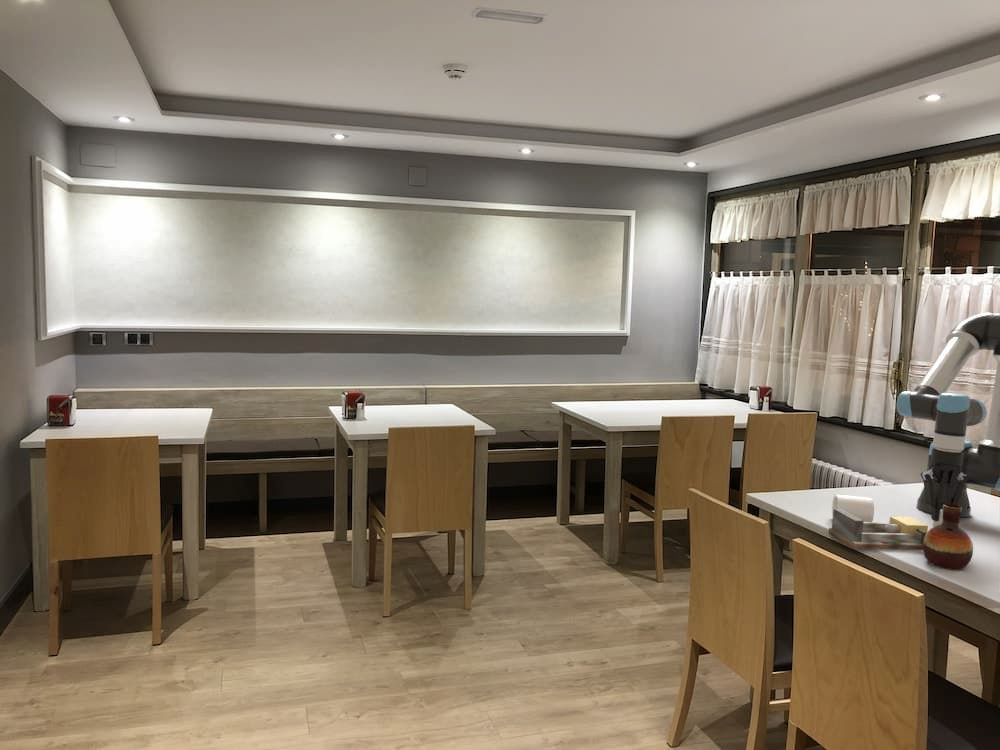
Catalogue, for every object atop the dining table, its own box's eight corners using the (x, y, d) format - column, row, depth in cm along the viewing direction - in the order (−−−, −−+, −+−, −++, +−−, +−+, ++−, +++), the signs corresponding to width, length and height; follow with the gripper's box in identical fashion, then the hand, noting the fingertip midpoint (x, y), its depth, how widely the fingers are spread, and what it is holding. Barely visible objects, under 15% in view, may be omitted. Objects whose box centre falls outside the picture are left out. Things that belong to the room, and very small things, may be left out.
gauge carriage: (908, 532, 220) (910, 517, 220) (934, 545, 209) (936, 529, 208) (878, 531, 219) (880, 516, 219) (902, 544, 208) (904, 528, 208)
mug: (872, 528, 227) (875, 501, 227) (836, 524, 229) (839, 498, 228) (862, 516, 239) (864, 491, 238) (827, 513, 241) (830, 488, 240)
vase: (978, 574, 192) (986, 513, 190) (930, 569, 194) (937, 509, 192) (960, 559, 203) (967, 502, 201) (914, 554, 204) (921, 497, 203)
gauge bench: (908, 533, 223) (910, 509, 223) (939, 550, 210) (942, 524, 209) (828, 531, 221) (831, 507, 220) (855, 548, 207) (858, 522, 207)
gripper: (960, 447, 218) (950, 528, 221) (917, 445, 217) (907, 527, 220) (979, 453, 211) (969, 537, 213) (934, 451, 210) (924, 535, 212)
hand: (937, 532), depth 216 cm, fingers closed
